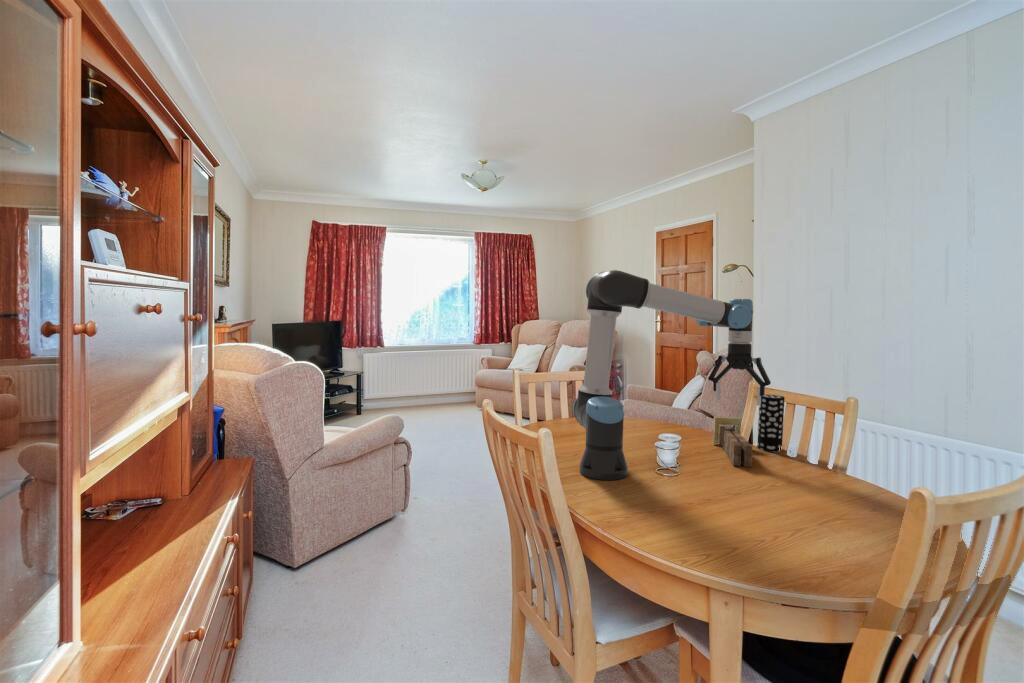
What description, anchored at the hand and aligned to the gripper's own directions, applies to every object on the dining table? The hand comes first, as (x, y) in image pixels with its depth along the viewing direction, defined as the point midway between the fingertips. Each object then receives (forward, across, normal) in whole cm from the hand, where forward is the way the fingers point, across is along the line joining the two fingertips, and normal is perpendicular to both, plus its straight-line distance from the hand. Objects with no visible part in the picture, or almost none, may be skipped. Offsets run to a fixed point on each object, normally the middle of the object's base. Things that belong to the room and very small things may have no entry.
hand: (737, 402), depth 181 cm
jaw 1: (+19, -1, -3) cm, 19 cm away
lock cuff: (+19, -7, +13) cm, 24 cm away
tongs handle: (+19, -6, +11) cm, 23 cm away
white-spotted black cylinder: (+20, +8, +18) cm, 28 cm away
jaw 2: (+19, +2, -2) cm, 19 cm away
